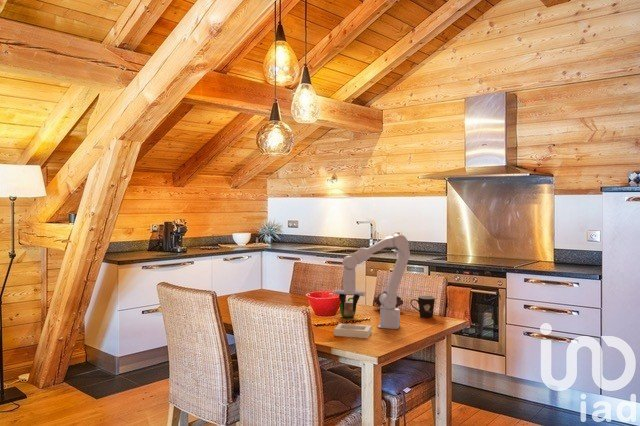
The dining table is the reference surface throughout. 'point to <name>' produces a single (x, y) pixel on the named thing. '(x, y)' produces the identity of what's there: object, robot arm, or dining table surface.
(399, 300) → the pine cone
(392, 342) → the dining table surface
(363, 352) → the dining table surface
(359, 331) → the well trough
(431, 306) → the coffee mug
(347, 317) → the bell pepper
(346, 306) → the bracket block
